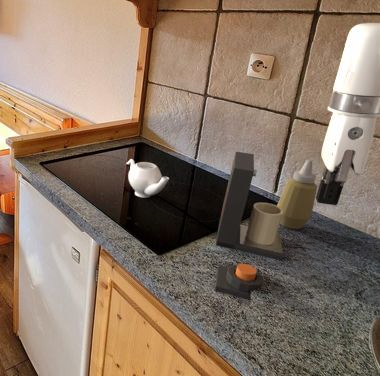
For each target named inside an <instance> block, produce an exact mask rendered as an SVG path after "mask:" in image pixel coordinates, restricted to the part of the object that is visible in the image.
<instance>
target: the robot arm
mask: <svg viewBox="0 0 380 376" xmlns="http://www.w3.org/2000/svg"><path fill="white" fill-rule="evenodd" d="M341 55H342V56H341V60H340V63H339V66H338V70H337V74H336V77H335V81H334V83H333V89H332V92H331V95H330V99H329V102H328V105H327V110H328V112H331V113H332V115H331V117H330V121H329V124H328V126H327V129H326V133H325V137H324V140H323V144H322V147H321V153H320V154H321V155H320V157H321V159H322V161H323V163H324V167H323V168H324V169H323V172H322V176H321V179H320V181H319V185H318V187H317V191H316V196H315V201H316V203H318V204H324V205H331V206H337V205H338V204H339V200H340V198H341V194H342V191H343V188H344V186H345V183H347V180H348V175H349V172H350V170H352V171H353V173H354V174H355V175H356V176H361V175H363V174H364V170H365V167H366V164H367V162H368V157H369V153H370V150H371V147H372V143H373V138H374V135H375V130H376V125H377V118H379V117H380V22H363V23H358V24H356V25H354V26H353V27H351V29H350V31H349V32H348V35H347V37H346V41H345V45H344V49H343V52H342V54H341Z"/></svg>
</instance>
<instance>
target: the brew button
mask: <svg viewBox="0 0 380 376" xmlns="http://www.w3.org/2000/svg"><path fill="white" fill-rule="evenodd" d="M237 265H238V266H237V269H236V273H235V274H236V276H237V277H238V278H240V279H242V280H245V281H254V279H255V276H256V273H257V271H258V270H257V269H256V268H255V267H254V266H252V265H250V264H248V263H239V264H237Z"/></svg>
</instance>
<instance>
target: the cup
mask: <svg viewBox="0 0 380 376" xmlns="http://www.w3.org/2000/svg"><path fill="white" fill-rule="evenodd" d="M282 216H283V210H282V209H281V208H280V207H278V206H277V204H273V203H269V202H255V203H254V204H253V207H252V210H251V213H250V217H249V221H248V224H247V225H248V228H247V231H246V237H247V238H248V239H249V240H251V241H253V242H255V243H258V244H263V245H270V244H273V243H274V241H275V238H276V235H277V232H278V231H279V228H280V225H281V224H280V222H281V219H282Z"/></svg>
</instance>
